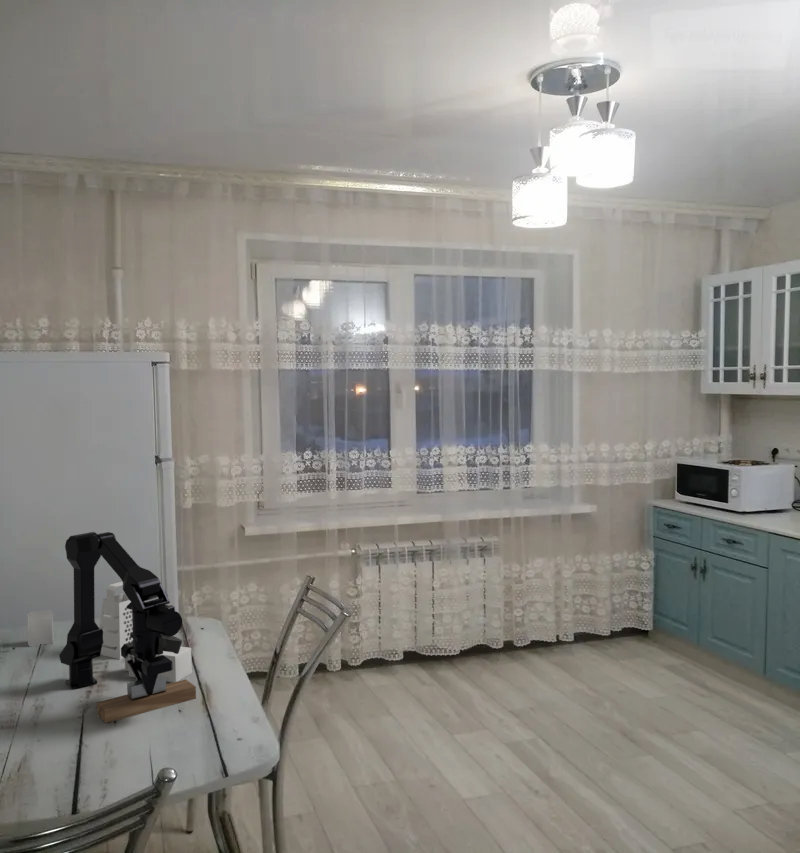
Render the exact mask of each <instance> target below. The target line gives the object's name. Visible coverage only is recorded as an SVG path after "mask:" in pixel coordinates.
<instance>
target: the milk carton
mask: <svg viewBox="0 0 800 853" xmlns="http://www.w3.org/2000/svg"><path fill="white" fill-rule="evenodd" d="M162 655H164V656H165V657H167V658H168V659H169V660H171V661H172V662H173V670H172V671H168V672H164V673H160V674H158V675H162V676H164V677H165V678H166V683H174V682H178V681H182V680H184V679H185V678H187V677H188V676H190V675H192V673H193V668H192V667H193V665H192V664H193V663H192V648H191V647H187V646H181V647H180V650H179V654H175V653H174V652H166V651H163V654H160V655H158V654H157V655H156V657H157V656H162ZM128 660H130V655H129V654H128V657H127V658H124V670H125V671H126V672H128V677H129V678H130V677H131V678H135V679H136V677H135V675H134V673H133V672H132V670H131V668H130V666H129V664H128V663H127V661H128Z"/></svg>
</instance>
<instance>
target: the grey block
mask: <svg viewBox="0 0 800 853" xmlns="http://www.w3.org/2000/svg"><path fill="white" fill-rule="evenodd" d="M166 684H167V682H166V678H165V677H164V676H162V675H158V676H157V679H156V683H155V686H154V690H153V693H152V694H153V695H156V694H160V693H161V692H162V691H166ZM126 692H127V693H126V695H128V696H129V697H130V698H131V699H133V700H137V699H141V697H142V696H146V695H148V694H147V692H146V690H145V688H144V685H143V683H142V680H138V681H137V680H134V681H131V682H127V683H126Z"/></svg>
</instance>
